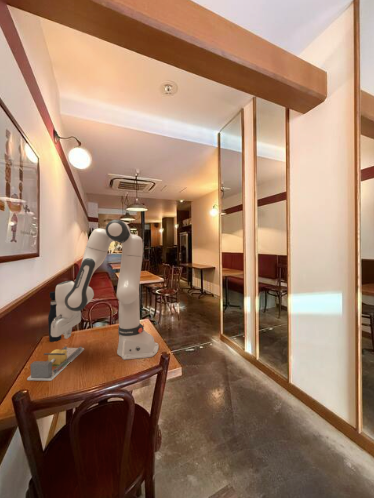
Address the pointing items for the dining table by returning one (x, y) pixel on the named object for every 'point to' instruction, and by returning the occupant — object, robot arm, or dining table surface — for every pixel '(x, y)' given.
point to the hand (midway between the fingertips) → (67, 337)
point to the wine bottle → (52, 316)
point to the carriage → (57, 356)
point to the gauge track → (52, 366)
